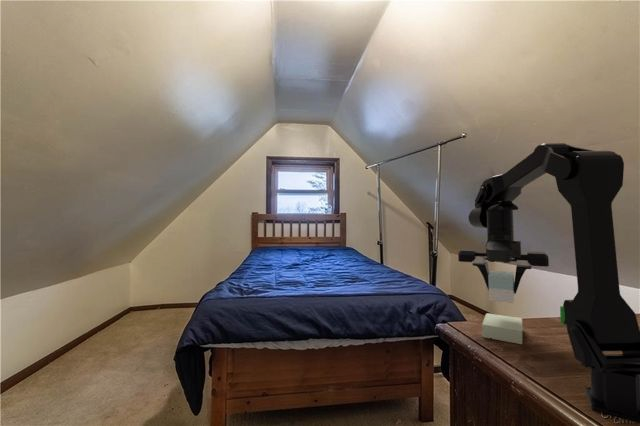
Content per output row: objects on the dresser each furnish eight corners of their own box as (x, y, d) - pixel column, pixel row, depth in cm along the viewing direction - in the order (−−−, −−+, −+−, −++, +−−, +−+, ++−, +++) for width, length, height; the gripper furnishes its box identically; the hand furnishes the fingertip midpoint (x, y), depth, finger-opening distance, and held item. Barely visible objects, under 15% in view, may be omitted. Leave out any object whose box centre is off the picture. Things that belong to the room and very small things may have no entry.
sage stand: (522, 344, 68) (521, 331, 68) (482, 337, 73) (481, 324, 73) (522, 330, 77) (522, 318, 77) (486, 324, 81) (486, 313, 81)
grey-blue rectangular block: (514, 295, 77) (513, 272, 77) (513, 303, 70) (512, 277, 70) (492, 293, 79) (491, 270, 80) (489, 300, 73) (488, 275, 73)
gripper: (453, 230, 74) (455, 294, 73) (549, 230, 63) (551, 305, 63) (461, 228, 83) (462, 285, 83) (546, 228, 72) (548, 294, 72)
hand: (502, 292), depth 75 cm, fingers closed on grey-blue rectangular block, 5 cm apart
